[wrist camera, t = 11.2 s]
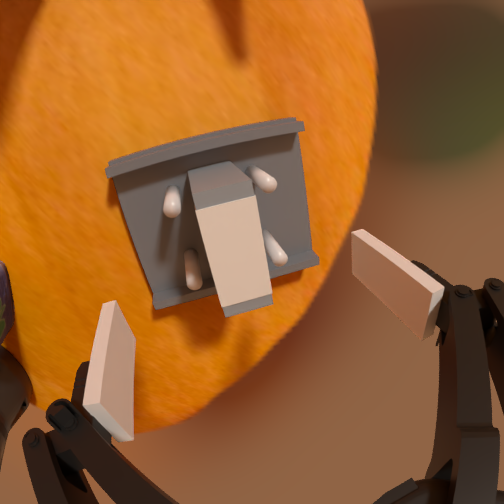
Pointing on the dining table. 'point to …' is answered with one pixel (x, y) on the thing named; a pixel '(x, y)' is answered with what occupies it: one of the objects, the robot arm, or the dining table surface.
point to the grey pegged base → (182, 204)
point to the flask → (5, 303)
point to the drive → (232, 236)
